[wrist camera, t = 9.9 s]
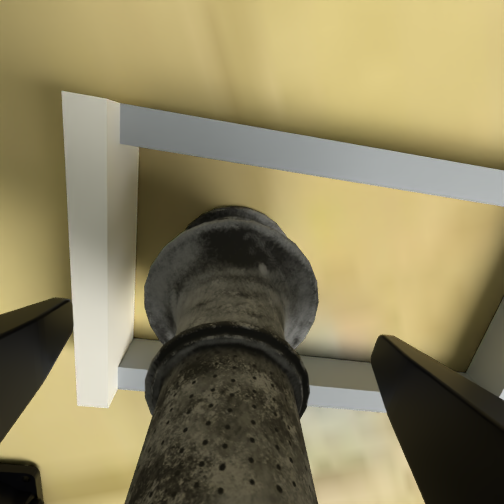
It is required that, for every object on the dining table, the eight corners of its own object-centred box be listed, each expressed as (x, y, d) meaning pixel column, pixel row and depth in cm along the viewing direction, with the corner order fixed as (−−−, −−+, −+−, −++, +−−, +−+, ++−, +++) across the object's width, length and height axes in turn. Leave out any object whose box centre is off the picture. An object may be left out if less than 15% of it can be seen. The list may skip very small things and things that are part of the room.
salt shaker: (214, 339, 15) (133, 977, 3) (140, 243, 13) (-548, 941, 2) (320, 283, 14) (668, 885, 3) (257, 171, 12) (522, 591, 1)
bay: (108, 355, 15) (77, 405, 12) (106, 103, 11) (61, 90, 8) (477, 392, 17) (525, 442, 14) (585, 187, 13) (682, 200, 10)
